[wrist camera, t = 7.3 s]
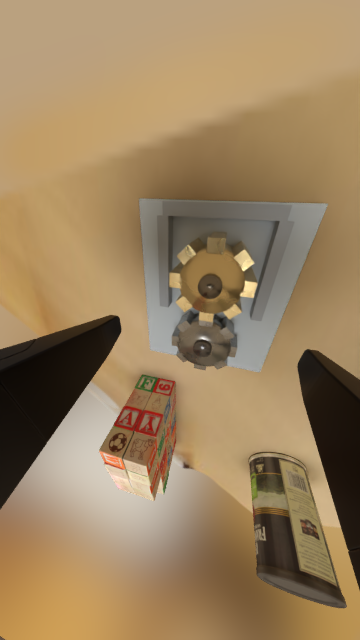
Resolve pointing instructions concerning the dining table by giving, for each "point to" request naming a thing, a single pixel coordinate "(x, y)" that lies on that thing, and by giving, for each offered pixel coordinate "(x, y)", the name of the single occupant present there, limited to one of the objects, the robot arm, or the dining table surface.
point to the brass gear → (214, 277)
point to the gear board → (240, 224)
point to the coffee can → (290, 531)
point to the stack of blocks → (143, 439)
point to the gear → (205, 340)
